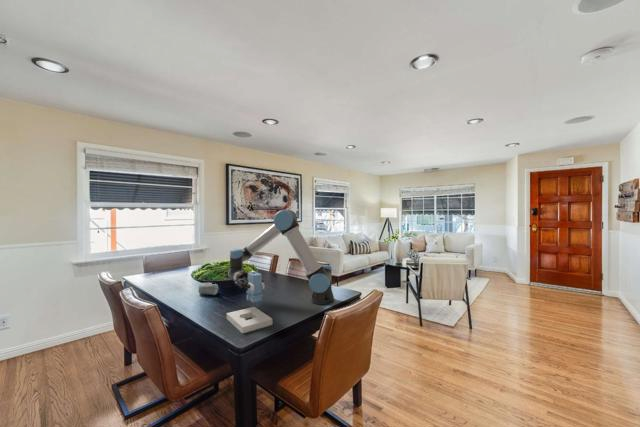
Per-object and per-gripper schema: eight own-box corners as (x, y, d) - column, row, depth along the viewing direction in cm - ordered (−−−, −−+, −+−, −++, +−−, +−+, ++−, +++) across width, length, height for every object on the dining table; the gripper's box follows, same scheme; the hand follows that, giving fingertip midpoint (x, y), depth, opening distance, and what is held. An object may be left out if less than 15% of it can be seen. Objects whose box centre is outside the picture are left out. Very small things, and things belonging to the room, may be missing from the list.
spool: (193, 291, 183) (200, 277, 187) (201, 293, 192) (208, 280, 195) (208, 298, 179) (215, 284, 182) (216, 300, 187) (223, 286, 191)
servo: (263, 301, 142) (263, 273, 142) (252, 303, 139) (252, 274, 138) (254, 296, 151) (254, 269, 151) (244, 298, 147) (244, 270, 147)
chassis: (272, 324, 138) (272, 318, 138) (242, 333, 128) (242, 327, 128) (254, 311, 156) (254, 306, 155) (226, 318, 146) (226, 313, 146)
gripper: (256, 281, 165) (274, 291, 146) (226, 286, 154) (241, 297, 135) (256, 269, 165) (274, 277, 146) (226, 273, 154) (242, 282, 135)
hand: (258, 287), depth 141 cm, fingers closed on servo, 5 cm apart
